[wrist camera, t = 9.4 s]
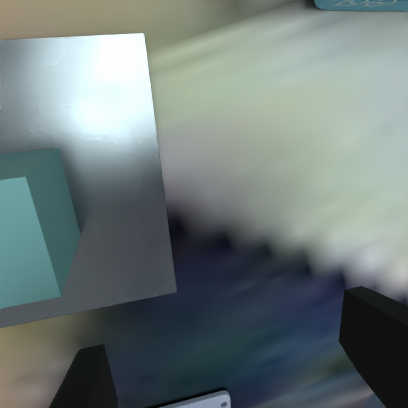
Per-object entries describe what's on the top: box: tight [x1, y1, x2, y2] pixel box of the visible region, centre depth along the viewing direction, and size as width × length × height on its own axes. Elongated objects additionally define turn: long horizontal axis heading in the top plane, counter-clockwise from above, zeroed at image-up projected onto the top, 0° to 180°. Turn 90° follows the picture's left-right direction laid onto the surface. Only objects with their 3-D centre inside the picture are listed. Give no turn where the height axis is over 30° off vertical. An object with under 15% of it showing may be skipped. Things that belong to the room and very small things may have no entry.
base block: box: [0, 33, 177, 328], centre depth 14 cm, size 12×12×2 cm
